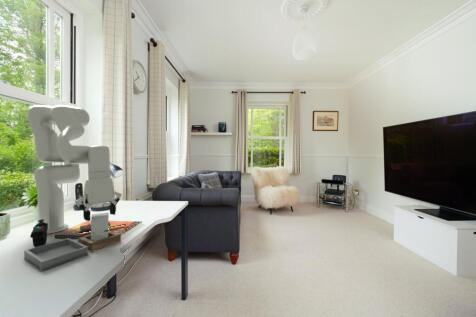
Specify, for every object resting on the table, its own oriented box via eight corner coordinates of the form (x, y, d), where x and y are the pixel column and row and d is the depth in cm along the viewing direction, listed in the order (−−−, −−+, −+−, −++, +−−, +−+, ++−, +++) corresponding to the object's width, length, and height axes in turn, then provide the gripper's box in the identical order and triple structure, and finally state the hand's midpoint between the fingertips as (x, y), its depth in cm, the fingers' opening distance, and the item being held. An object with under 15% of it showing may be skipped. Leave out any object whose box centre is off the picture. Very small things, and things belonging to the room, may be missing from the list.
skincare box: (90, 247, 84) (90, 216, 84) (91, 243, 88) (90, 214, 87) (108, 243, 87) (108, 214, 87) (108, 240, 91) (108, 212, 91)
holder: (78, 245, 86) (78, 238, 86) (106, 236, 95) (106, 229, 95) (92, 251, 80) (91, 243, 80) (120, 241, 89) (120, 234, 89)
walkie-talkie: (78, 237, 95) (127, 227, 108) (78, 227, 95) (127, 218, 108) (77, 232, 101) (123, 223, 114) (76, 223, 101) (123, 215, 114)
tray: (24, 258, 74) (24, 250, 74) (68, 245, 86) (68, 237, 86) (41, 271, 66) (41, 262, 66) (88, 254, 77) (88, 246, 77)
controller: (49, 240, 90) (49, 217, 90) (44, 251, 80) (44, 225, 80) (35, 243, 88) (35, 219, 88) (29, 254, 78) (28, 227, 78)
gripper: (115, 173, 96) (116, 211, 96) (70, 177, 81) (71, 221, 82) (125, 174, 92) (126, 213, 93) (79, 178, 78) (80, 224, 78)
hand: (100, 217), depth 87 cm, fingers open, 9 cm apart
